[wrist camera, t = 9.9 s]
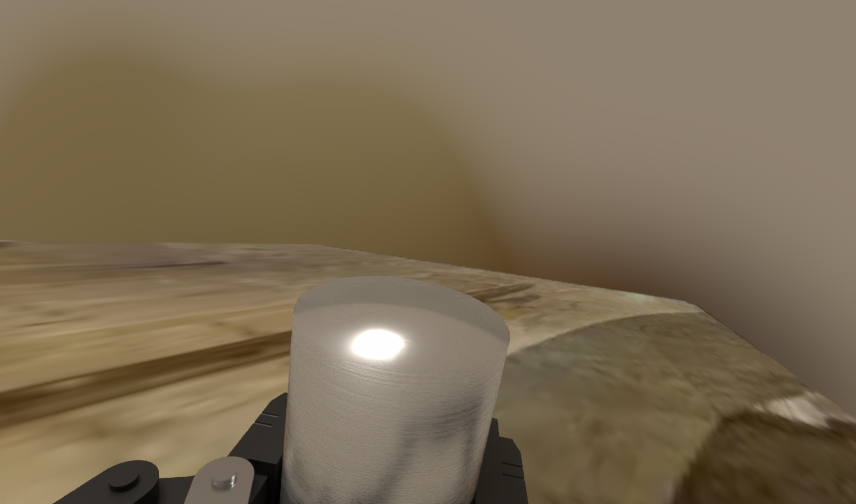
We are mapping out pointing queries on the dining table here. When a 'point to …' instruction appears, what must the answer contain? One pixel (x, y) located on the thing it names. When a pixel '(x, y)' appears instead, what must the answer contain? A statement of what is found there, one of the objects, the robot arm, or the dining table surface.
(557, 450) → the dining table surface
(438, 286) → the shaft
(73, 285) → the dining table surface
